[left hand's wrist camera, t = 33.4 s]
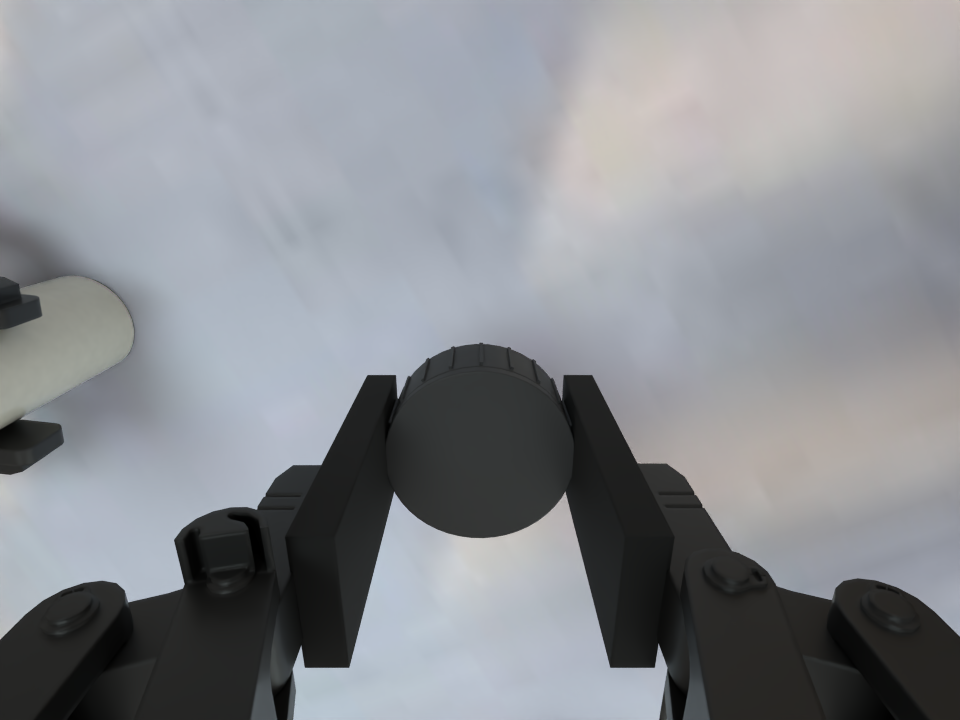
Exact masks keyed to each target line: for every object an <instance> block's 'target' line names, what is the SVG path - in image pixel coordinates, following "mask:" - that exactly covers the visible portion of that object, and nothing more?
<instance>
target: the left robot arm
mask: <svg viewBox="0 0 960 720" xmlns="http://www.w3.org/2000/svg"><path fill="white" fill-rule="evenodd" d="M396 398H397V385H396V375H367V377H366V379H365V381H364V383H363V385H362V387H361V389H360V391H359V393H358V395H357V397H356V399H355V401H354V403H353V405H352V407H351V408H350V410H349V412H348V414H347V416H346V418H345V420H344V422H343V424H342V426H341V428H340V430H339V432H338V434H337V436H336V438H335V440H334V442H333V444H332V446H331V448H330V449H329V451H328V453H327V455H326V457H325V459H324V461H323V463H322V465H293V466H292V467H290V468H289V469H288V470H286V471H285V472H284V473H282V474H281V475H280V476H278V477H277V478H276V479H275V480H274V482H273V483H272V485H271V486H270V488H269V490H268V491H267V493H266V497H263V499H262V501H261V502H260V504H259V505H258V509H257V510H255V509H252V508H248V507H233V508H227V509H222V510H218V511H213V512H211V513H209V514H206V515H204V516H202V517H200V518H197V519H196V520H194V521H193V522H191V523H190V524H189V525H187V526H186V527H184V528H183V529H182V530H181V532H180V533H179V534H178V536H177V537H176V538H175V540H174V542H175V546H176V550H177V554H178V558H179V562H180V566H181V571H182V575H183V579H184V583H185V585H184V588H183V589H181V590H177V591H174V592H171V593H168V594H163V595H159V596H155V597H150V598H146V599H142V600H137V601H133V602H129V603H128V601H127V597H126V594H125V590H123V589H122V588H121V587H120V586H119V585H118V584H117V583H112V582H106V581H97V582H88V583H83V584H80V585H77V586H74V587H70V588H67V589H64V590H62V591H60V592H58V593H57V594H55V595H53V596H51V597H49V598H47V599H45V600H43V601H42V602H41V603H40V604H38V605H37V606H36V607H34V608H33V609H32V610H31V611H29V612H28V613H27V614H26V615H25V616H24V617H23V618H22V619H21V620H20V621H19V622H18V623H17V624H16V625H15V626H14V627H13V628H12V629H11V630H10V631H9V632H8V633H7V634H6V635H5V636H4V637H3V638H2V639H1V640H0V720H293V715H294V704H295V694H296V689H295V682H294V675H293V666H294V664H295V661H296V658H297V655H298V653H299V650H300V647H301V645H302V652H303V658H304V665H305V668H349V666H350V663H351V659H352V655H353V651H354V647H355V643H356V639H357V635H358V631H359V627H360V623H361V619H362V615H363V612H364V608H365V604H366V600H367V596H368V592H369V588H370V584H371V580H372V576H373V572H374V568H375V564H376V561H377V557H378V553H379V549H380V545H381V541H382V537H383V533H384V529H385V525H386V521H387V517H388V514H389V510H390V506H391V502H392V498H393V494H394V490H393V488H392V486H391V484H390V481H389V478H388V472H387V458H386V437H387V433H388V430H389V427H390V426H389V425H388V422H389V419H390V416H391V413H392V410H393V407H394V404H395V401H396ZM562 401H564V403H565V406H566V409H567V412H568V414H569V417H570V420H571V423H572V428H571V431H572V434H573V438H574V453H573V467H572V478H571V480H570V483H569V485H568V488H567V489H566V495H567V499H568V503H569V507H570V511H571V515H572V519H573V523H574V527H575V531H576V534H577V538H578V542H579V546H580V550H581V554H582V558H583V562H584V566H585V570H586V574H587V578H588V582H589V585H590V589H591V593H592V597H593V601H594V605H595V609H596V613H597V617H598V621H599V625H600V629H601V633H602V636H603V640H604V644H605V648H606V652H607V656H608V660H609V664H610V668H655V663H656V656H657V650H658V643H659V645H660V648H661V651H662V654H663V656H664V659H665V662H666V665H667V667H668V669H667V675H666V681H665V687H664V694H663V700H662V706H661V712H660V719H659V720H960V636H959V635H957V634H956V633H955V632H954V631H953V630H952V629H951V628H950V627H949V626H948V625H947V624H946V623H945V622H944V621H943V620H942V619H941V618H940V617H939V616H938V615H937V614H936V613H935V612H934V611H933V610H932V609H930V608H929V607H928V606H926V605H925V604H924V603H923V602H921V601H920V600H919V599H918V598H916V597H914V596H912V595H910V594H908V593H906V592H905V591H903V590H901V589H899V588H897V587H894V586H891V585H888V584H885V583H882V582H879V581H875V580H866V579H852V580H847V581H843V582H842V583H841V584H840V585H839V586H838V587H836V589H835V592H834V596H833V599H832V600H828V599H824V598H819V597H815V596H811V595H806V594H802V593H798V592H793V591H790V590H786V589H783V588H780V587H777V586H776V584H775V582H774V581H773V579H772V578H771V576H770V575H769V573H768V572H767V571H766V570H765V569H764V568H762V567H761V566H760V565H759V564H758V563H756V562H755V561H754V560H751V559H749V558H747V557H745V556H743V555H741V554H739V553H736V552H733V551H731V549H730V547H729V546H728V544H727V543H726V541H725V540H724V538H723V536H722V535H721V533H720V532H719V530H718V529H717V527H716V526H715V524H714V522H713V521H712V519H711V518H710V516H709V515H708V513H707V511H706V510H705V508H703V507H702V504H701V502H700V500H699V499H698V497H697V496H696V495H694V491H693V489H692V488H691V486H690V485H689V483H688V482H687V480H686V478H685V477H684V476H683V475H681V474H680V473H679V472H677V471H676V470H674V469H673V468H672V467H670V466H669V465H668V464H637V462H636V460H635V458H634V456H633V454H632V452H631V450H630V448H629V446H628V444H627V442H626V440H625V438H624V437H623V435H622V433H621V431H620V429H619V427H618V425H617V423H616V421H615V419H614V417H613V415H612V413H611V411H610V409H609V407H608V405H607V403H606V401H605V399H604V397H603V396H602V394H601V392H600V390H599V388H598V386H597V384H596V382H595V380H594V378H593V376H592V375H564V379H563V396H562Z"/></svg>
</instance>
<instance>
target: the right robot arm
mask: <svg viewBox="0 0 960 720" xmlns="http://www.w3.org/2000/svg"><path fill="white" fill-rule="evenodd" d="M40 317H42V310H41V304H40V298H39V297H38V296H35V295H27V294H21V293H20V288H19V284H17V283H15V282H13V281H11V280H9V279H7V278H5V277H0V330H3V329H8V328H12V327H15V326H17V325H20V324H23V323H26V322H29V321H31V320H34V319H37V318H40ZM63 443H64V439H63V433H62V427H61V425H60V424H56V423H47V422H38V421H29V420H20V419H19V420H17V421H15V422H14V423H12V424H10V425H8V426H6V427H5V428H3V429H1V430H0V474H9V475H11V474H15V473H19V472H23V471H24V470H26V469H27V468H29V467H30V466H32V465H33V464H34V463H36V462H37V461H39V460H40V459H42V458H43V457H45V456H46V455H48V454H49V453H50V452H52V451H53V450H55V449H56V448H58V447H59V446H61V445H62V444H63Z"/></svg>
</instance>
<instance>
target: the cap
mask: <svg viewBox="0 0 960 720" xmlns="http://www.w3.org/2000/svg"><path fill="white" fill-rule="evenodd" d="M388 425H389V426H390V427H389V430H388V433H387V437H386V458H387V472H388V478H389V481H390V484H391V486H392V488H393V490H394V492H395V494H396V495H397V496H398V498H399V499H400V501H401V502H402V503H403V504H404V506H405V507H406V508H407V509H408V510H409V511H410V512H411V513H412V514H414V515H415V516H416V517H417V518H419V519H420V520H422V521H423V522H425V523H426V524H428V525H430V526H432V527H434V528H436V529H438V530H441V531H443V532H446V533H449V534H453V535H457V536H462V537H470V538H489V537H497V536H503V535H507V534H510V533H514V532H517V531H519V530H522V529H524V528H526V527H528V526H530V525H532V524H533V523H535V522H537V521H538V520H540V519H541V518H542V517H544V516H545V515H546V514H547V513H548V512H549V511H550V510H551V509H552V508H554V507H555V505H556V504H557V503H558V502H559V500H560V499H561V498H562V496H563V494H564V493H565V491H566V489H567V488H568V485H569V483H570V480H571V478H572V467H573V453H574V438H573V434H572V431H571V428H572V423H571V420H570V417H569V414H568V412H567V409H566V406H565V403H564V401H561V398H560V395H559V393H558V390H557V388H556V385H555V382H554V379H553V378H551V379H550V377H549V376H548V375H547V373H546V372H545V371H544V370H543V369H542V368H541V367H540V366H539V365H537V364H536V361H535V360H534V359H533V360H531V359H529V358H527V357H526V356H524V355H522V354H520V353H518V352H516V351H513V350H511V348H509V347H508V348H504V347H501V346H495V345H488V344H483V343H480V344H473V345H464V346H460V347H451V349H449V350H446V351H444V352H441V353H440V354H438V355H436V356H434V357H432V358H431V359H429V358H428V359H426V362H425V363H423V364H422V365H421V366H420V367H419V368H418V369H417V370H416V371H415V372H414V373H413V374H412V376H411V377H410V376H408V377H407V380H406V383H405V386H404V388H403V390H402V392H401V395H400V397H399V399H398V398H396V401H395V404H394V407H393V410H392V413H391V416H390V419H389V422H388Z"/></svg>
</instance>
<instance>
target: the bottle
mask: <svg viewBox="0 0 960 720" xmlns="http://www.w3.org/2000/svg"><path fill="white" fill-rule="evenodd" d="M20 293H21V294H27V295H35V296H38V297H39V298H40V304H41V310H42V317H40V318H37V319H34V320H31V321H29V322H26V323H23V324H20V325H17V326H15V327H12V328H8V329H3V330H0V430H1V429H3V428H5V427H6V426H8V425H10V424H12V423H14V422H15V421H17V420H19V419H21V418H22V417H24V416H26V415H28V414H30V413H31V412H33V411H35V410H37V409H38V408H40V407H42V406H44V405H46V404H47V403H49V402H51V401H53V400H54V399H56V398H58V397H60V396H61V395H63V394H65V393H67V392H69V391H70V390H72V389H74V388H76V387H77V386H79V385H81V384H83V383H85V382H86V381H88V380H90V379H92V378H93V377H95V376H97V375H99V374H101V373H102V372H104V371H106V370H108V369H109V368H111V367H113V366H115V365H117V364H118V363H120V362H121V361H122V360H123V359H124V358H125V357H126V356H127V355H128V354H129V352H130V350H131V348H132V345H133V341H134V327H133V322H132V319H131V316H130V314H129V312H128V310H127V308H126V306H125V305H124V304H123V302H122V301H121V300H120V299H119V297H118V296H117V295H116V294H115V293H113V292H112V291H111V290H110V289H109V288H107V287H106V286H104V285H102V284H101V283H99V282H97V281H95V280H92V279H89V278H86V277H81V276H73V275H71V276H62V277H57V278H54V279H50V280H47V281H43V282H40V283H36V284H33V285H29V286H26V287H22V288H20Z"/></svg>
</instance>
